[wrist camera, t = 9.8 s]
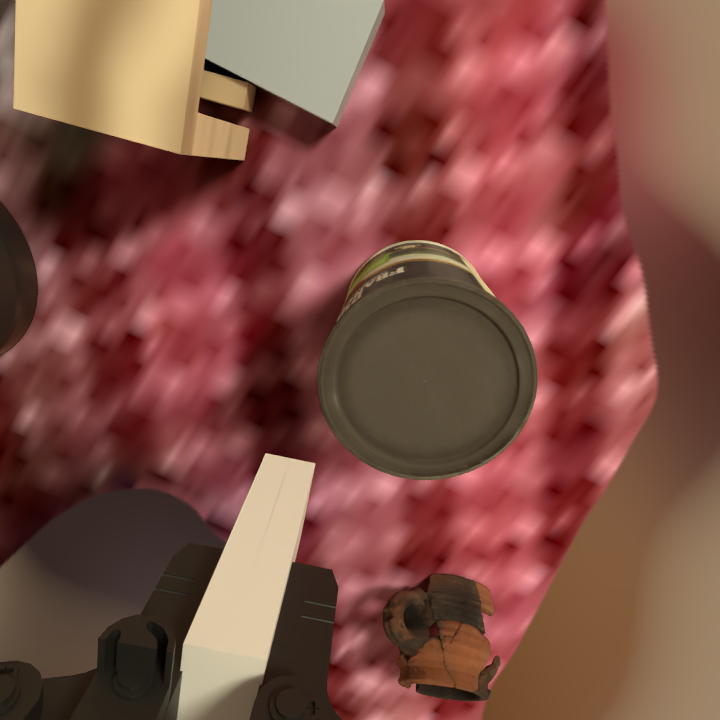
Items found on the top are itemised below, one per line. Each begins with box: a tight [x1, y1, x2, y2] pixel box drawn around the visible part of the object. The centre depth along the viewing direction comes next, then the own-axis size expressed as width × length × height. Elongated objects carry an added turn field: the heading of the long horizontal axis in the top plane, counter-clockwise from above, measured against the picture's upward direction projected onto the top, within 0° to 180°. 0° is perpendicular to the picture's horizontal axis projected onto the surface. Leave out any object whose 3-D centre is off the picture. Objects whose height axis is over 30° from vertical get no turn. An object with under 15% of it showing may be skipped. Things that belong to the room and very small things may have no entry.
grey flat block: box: [205, 0, 385, 127], centre depth 31 cm, size 14×7×3 cm, turn 65°
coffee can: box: [318, 240, 538, 480], centre depth 31 cm, size 10×10×14 cm
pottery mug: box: [383, 574, 500, 701], centre depth 44 cm, size 12×10×8 cm
